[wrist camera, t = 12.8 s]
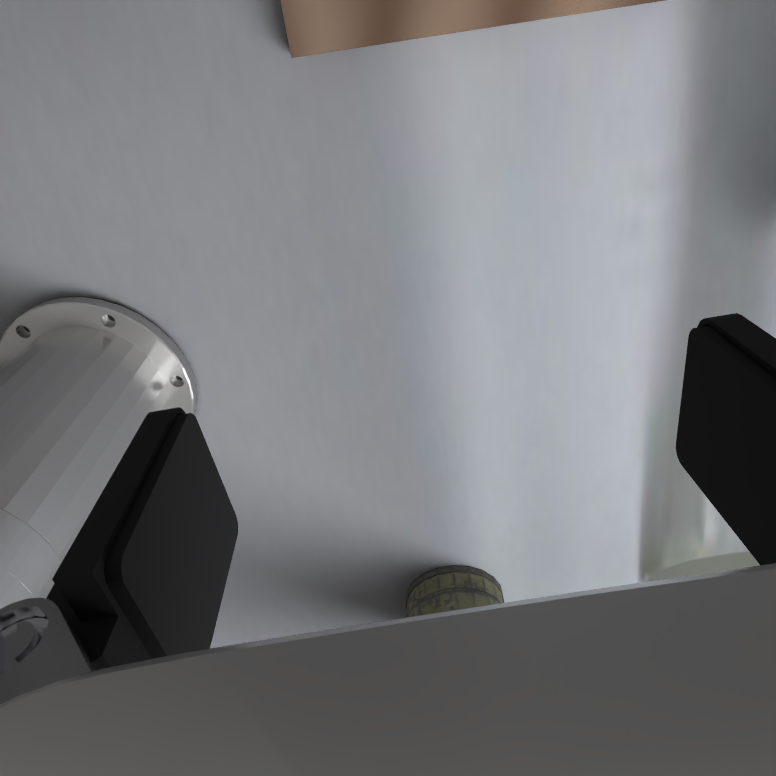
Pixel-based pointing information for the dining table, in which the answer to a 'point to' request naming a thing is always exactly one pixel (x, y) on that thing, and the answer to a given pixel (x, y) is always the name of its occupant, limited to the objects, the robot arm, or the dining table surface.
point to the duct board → (412, 19)
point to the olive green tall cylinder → (452, 591)
